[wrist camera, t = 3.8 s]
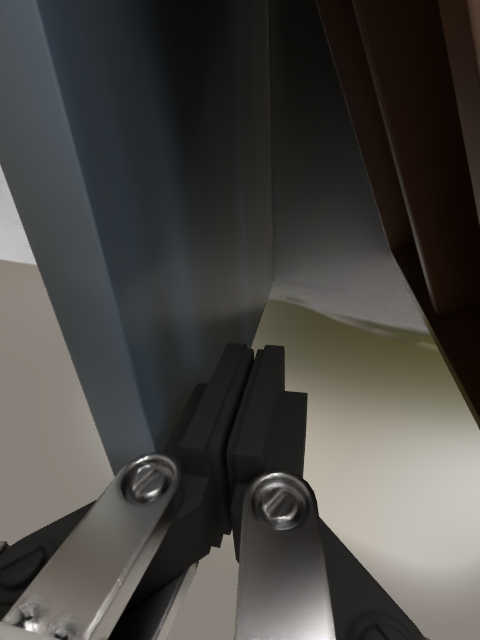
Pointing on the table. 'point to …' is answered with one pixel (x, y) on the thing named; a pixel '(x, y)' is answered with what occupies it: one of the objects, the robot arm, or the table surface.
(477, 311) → the cupboard
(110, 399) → the door
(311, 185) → the table surface
